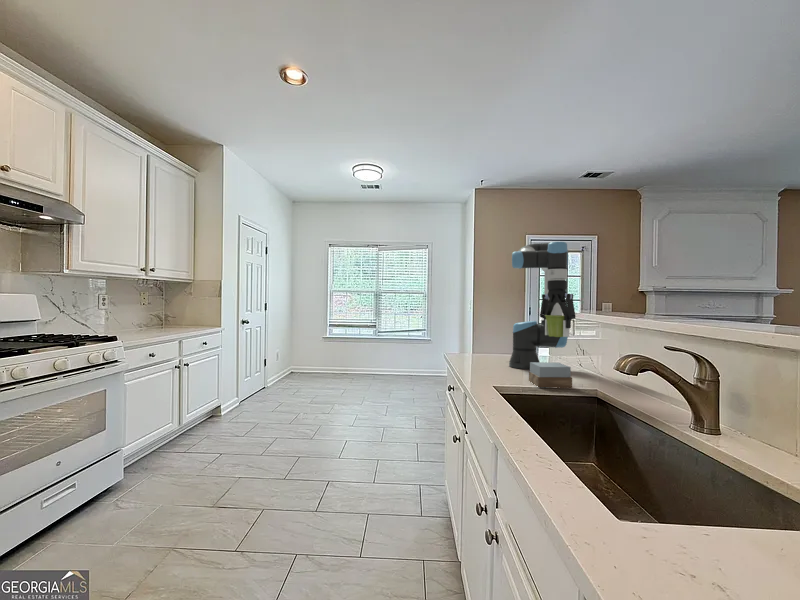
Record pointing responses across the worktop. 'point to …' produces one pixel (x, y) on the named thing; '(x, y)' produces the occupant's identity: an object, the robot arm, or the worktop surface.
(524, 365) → the robot arm
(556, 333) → the plant pot
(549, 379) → the walnut base block
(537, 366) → the slate top block
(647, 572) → the worktop surface
